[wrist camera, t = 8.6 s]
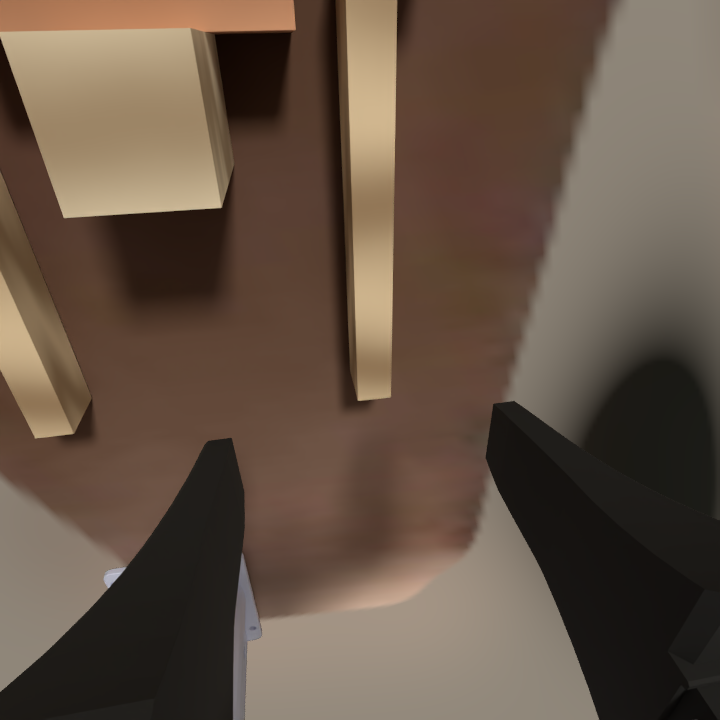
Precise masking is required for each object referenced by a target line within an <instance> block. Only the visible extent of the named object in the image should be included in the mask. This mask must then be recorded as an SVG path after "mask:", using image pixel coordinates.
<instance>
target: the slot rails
mask: <svg viewBox="0 0 720 720" xmlns="http://www.w3.org/2000/svg"><path fill="white" fill-rule="evenodd" d="M335 3H336V28H337V53H338V78H339V103H340V129H341V154H342V179H343V204H344V229H345V255H346V280H347V305H348V330H349V355H350V372H351V376H352V380H353V384H354V387H355V391H356V395H357V399H358V401H362V400H371V399H380V398H388V397H391V355H392V292H393V230H394V167H395V104H396V41H397V0H335ZM0 370H1V372H2V374H3V376H4V378H5V380H6V382H7V383H8V385H9V387H10V389H11V391H12V393H13V395H14V397H15V399H16V401H17V403H18V405H19V407H20V409H21V411H22V413H23V415H24V417H25V419H26V421H27V423H28V424H29V426H30V428H31V430H32V432H33V434H34V436H35V438H42V437H51V436H60V435H68V434H74V433H75V431H76V429H77V427H78V425H79V423H80V421H81V419H82V417H83V415H84V413H85V411H86V409H87V407H88V405H89V403H90V401H91V399H92V397H91V394H90V392H89V389H88V387H87V385H86V382H85V380H84V377H83V375H82V372H81V370H80V367H79V365H78V362H77V360H76V357H75V355H74V352H73V350H72V347H71V345H70V342H69V340H68V337H67V335H66V333H65V330H64V328H63V325H62V323H61V320H60V318H59V315H58V313H57V310H56V308H55V305H54V303H53V300H52V298H51V295H50V293H49V290H48V288H47V285H46V283H45V280H44V278H43V276H42V273H41V271H40V268H39V266H38V263H37V261H36V258H35V256H34V253H33V251H32V248H31V246H30V243H29V241H28V238H27V236H26V233H25V231H24V228H23V226H22V223H21V221H20V219H19V216H18V214H17V211H16V209H15V206H14V204H13V201H12V199H11V196H10V194H9V191H8V189H7V186H6V184H5V181H4V179H3V176H2V174H1V171H0Z"/></svg>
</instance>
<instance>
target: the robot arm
mask: <svg viewBox="0 0 720 720" xmlns="http://www.w3.org/2000/svg"><path fill="white" fill-rule="evenodd" d="M486 460H487V463H488V465H489V468H490V471H491V473H492V476H493V479H494V481H495V483H496V486H497V488H498V491H499V493H500V494H501V496H502V498H503V500H504V502H505V504H506V506H507V507H508V509H509V511H510V513H511V515H512V517H513V518H514V520H515V522H516V524H517V526H518V527H519V529H520V531H521V533H522V535H523V537H524V538H525V540H526V542H527V544H528V545H529V547H530V549H531V551H532V553H533V555H534V556H535V558H536V560H537V562H538V564H539V566H540V568H541V570H542V572H543V574H544V577H545V579H546V581H547V584H548V586H549V588H550V591H551V593H552V595H553V598H554V600H555V602H556V605H557V607H558V609H559V612H560V615H561V617H562V620H563V622H564V625H565V627H566V630H567V632H568V635H569V637H570V639H571V642H572V645H573V647H574V650H575V653H576V655H577V658H578V661H579V663H580V666H581V669H582V672H583V674H584V677H585V680H586V682H587V685H588V688H589V691H590V694H591V697H592V700H593V702H594V705H595V708H596V711H597V714H598V717H599V720H720V520H717V519H715V518H712V517H710V516H707V515H705V514H703V513H700V512H698V511H695V510H693V509H691V508H689V507H687V506H684V505H682V504H680V503H678V502H676V501H673V500H671V499H669V498H667V497H665V496H663V495H661V494H659V493H657V492H655V491H653V490H651V489H649V488H647V487H645V486H643V485H641V484H640V483H638V482H636V481H634V480H632V479H630V478H628V477H627V476H625V475H623V474H621V473H620V472H618V471H616V470H614V469H613V468H611V467H609V466H608V465H606V464H605V463H603V462H601V461H600V460H598V459H597V458H595V457H593V456H592V455H590V454H589V453H587V452H586V451H584V450H583V449H581V448H579V447H578V446H577V445H575V444H574V443H572V442H571V441H569V440H568V439H567V438H565V437H564V436H562V435H561V434H560V433H558V432H557V431H555V430H554V429H553V428H551V427H549V426H548V425H547V424H546V423H544V422H543V421H541V420H540V419H539V418H537V417H536V416H535V415H533V414H532V413H530V412H529V411H528V410H526V409H525V408H523V407H522V406H520V405H519V404H518V403H516V402H515V401H512V402H504V403H496V404H493V411H492V418H491V424H490V431H489V438H488V445H487V452H486ZM244 528H245V509H244V489H243V484H242V480H241V476H240V472H239V467H238V463H237V459H236V454H235V450H234V446H233V442H232V438H227V439H220V440H212V441H208V442H207V443H206V444H205V445H204V447H203V449H202V451H201V453H200V455H199V457H198V459H197V461H196V463H195V465H194V467H193V469H192V470H191V472H190V474H189V476H188V478H187V479H186V481H185V483H184V485H183V486H182V488H181V490H180V491H179V493H178V495H177V496H176V498H175V500H174V501H173V503H172V505H171V506H170V508H169V509H168V511H167V512H166V514H165V515H164V517H163V518H162V520H161V521H160V523H159V524H158V526H157V527H156V529H155V530H154V532H153V533H152V535H151V536H150V537H149V539H148V540H147V541H146V543H145V544H144V546H143V547H142V548H141V550H140V551H139V552H138V553H137V555H136V556H135V557H134V559H133V560H132V561H131V562H130V564H129V565H128V566H127V567H122V568H115V569H110V570H108V571H106V573H105V575H104V582H105V584H106V585H107V587H108V590H107V591H106V592H105V593H104V594H103V595H102V596H101V598H100V599H99V600H98V601H97V602H96V603H95V604H94V605H93V606H92V607H91V608H90V609H89V611H87V612H86V613H85V614H84V616H82V618H80V619H79V620H78V621H77V623H76V624H74V625H73V626H72V627H71V628H70V629H69V631H67V632H66V633H65V634H64V635H63V636H62V637H61V638H60V639H59V640H58V641H57V642H56V643H55V644H54V645H53V646H52V647H51V648H50V649H49V650H48V651H47V652H46V653H45V654H44V655H43V656H41V657H40V658H39V659H38V660H37V661H36V662H34V663H33V664H32V665H31V666H30V667H29V668H28V669H26V670H25V671H24V672H23V673H22V674H21V675H19V676H18V677H17V678H16V679H15V680H14V681H13V682H11V683H10V684H9V685H8V686H7V687H6V688H4V689H3V690H2V691H1V692H0V720H245V692H246V664H247V641H250V640H256V639H259V638H260V637H261V636H262V629H261V624H260V620H259V616H258V612H257V608H256V604H255V600H254V596H253V592H252V588H251V584H250V580H249V575H248V571H247V567H246V563H245V559H244V555H243V553H242V547H243V538H244Z"/></svg>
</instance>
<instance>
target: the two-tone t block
mask: <svg viewBox="0 0 720 720" xmlns="http://www.w3.org/2000/svg"><path fill="white" fill-rule="evenodd" d="M295 30H296V28H295V15H294V2H293V0H0V39H1V41H2V43H3V46H4V49H5V52H6V55H7V58H8V61H9V63H10V66H11V69H12V72H13V75H14V78H15V80H16V83H17V86H18V89H19V92H20V95H21V97H22V100H23V103H24V106H25V109H26V112H27V114H28V117H29V120H30V123H31V126H32V129H33V131H34V134H35V137H36V140H37V143H38V146H39V148H40V151H41V154H42V157H43V160H44V163H45V165H46V168H47V171H48V174H49V177H50V180H51V182H52V185H53V188H54V191H55V194H56V197H57V199H58V202H59V205H60V208H61V211H62V214H63V216H64V218H72V217H87V216H103V215H118V214H134V213H149V212H165V211H180V210H196V209H212V208H222V205H223V202H224V198H225V195H226V191H227V188H228V184H229V181H230V177H231V174H232V170H233V167H234V158H233V151H232V145H231V138H230V132H229V125H228V119H227V112H226V106H225V99H224V93H223V86H222V80H221V73H220V66H219V60H218V53H217V47H216V40H215V34H251V33H292V32H293V31H295Z"/></svg>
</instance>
